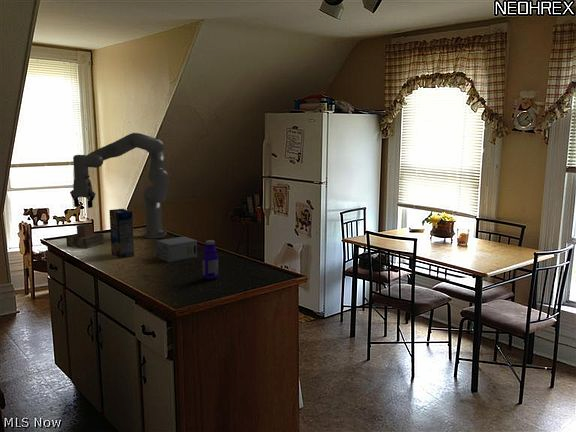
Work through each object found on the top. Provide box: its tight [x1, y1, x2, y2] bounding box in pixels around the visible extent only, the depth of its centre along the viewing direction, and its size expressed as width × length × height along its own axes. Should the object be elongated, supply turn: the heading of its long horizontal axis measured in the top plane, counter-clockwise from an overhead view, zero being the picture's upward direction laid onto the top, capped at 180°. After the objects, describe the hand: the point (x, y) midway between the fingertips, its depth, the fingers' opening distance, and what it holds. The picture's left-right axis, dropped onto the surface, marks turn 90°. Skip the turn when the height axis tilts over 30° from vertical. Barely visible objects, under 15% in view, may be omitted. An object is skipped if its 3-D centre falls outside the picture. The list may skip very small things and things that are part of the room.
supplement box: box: [156, 236, 198, 263], centre depth 273 cm, size 17×13×9 cm
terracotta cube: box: [76, 223, 94, 237], centre depth 298 cm, size 6×6×6 cm
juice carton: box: [108, 208, 135, 259], centre depth 275 cm, size 12×8×24 cm, turn 40°
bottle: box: [201, 239, 219, 280], centre depth 235 cm, size 7×6×17 cm
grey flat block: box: [65, 232, 105, 249], centre depth 299 cm, size 14×14×6 cm
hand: (83, 207), depth 296 cm, fingers open, 9 cm apart
